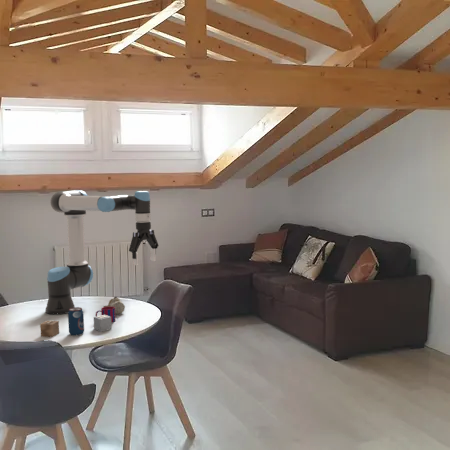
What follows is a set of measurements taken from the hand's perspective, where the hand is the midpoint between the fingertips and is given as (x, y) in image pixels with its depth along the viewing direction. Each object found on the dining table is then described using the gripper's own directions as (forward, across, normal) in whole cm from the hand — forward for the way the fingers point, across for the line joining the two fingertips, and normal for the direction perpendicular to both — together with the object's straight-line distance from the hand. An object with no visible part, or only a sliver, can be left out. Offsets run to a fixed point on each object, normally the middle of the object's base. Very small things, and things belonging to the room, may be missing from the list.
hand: (144, 263), depth 290 cm
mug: (+28, -17, +12) cm, 35 cm away
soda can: (+28, -39, +9) cm, 49 cm away
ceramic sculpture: (+28, 0, +21) cm, 35 cm away
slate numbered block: (+28, -27, +4) cm, 39 cm away
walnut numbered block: (+28, -46, +19) cm, 57 cm away
